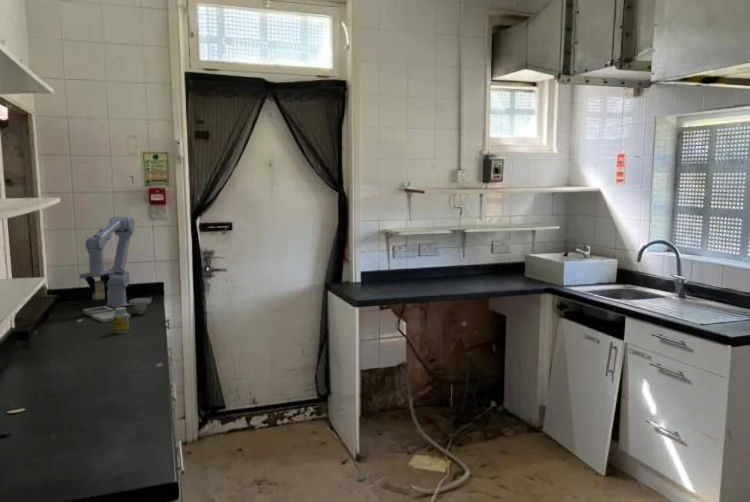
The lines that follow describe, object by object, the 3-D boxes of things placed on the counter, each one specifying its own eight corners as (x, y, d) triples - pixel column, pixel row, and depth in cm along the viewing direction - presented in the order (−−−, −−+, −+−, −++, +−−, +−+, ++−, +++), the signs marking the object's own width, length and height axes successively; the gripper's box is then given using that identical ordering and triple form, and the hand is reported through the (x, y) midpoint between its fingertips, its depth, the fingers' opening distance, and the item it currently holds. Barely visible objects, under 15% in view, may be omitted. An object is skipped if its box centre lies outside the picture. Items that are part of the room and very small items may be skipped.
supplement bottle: (111, 332, 229) (110, 309, 228) (122, 329, 234) (120, 306, 233) (121, 334, 227) (120, 310, 226) (132, 330, 232) (130, 307, 231)
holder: (83, 313, 262) (83, 309, 262) (105, 309, 269) (105, 305, 269) (92, 316, 255) (91, 312, 255) (114, 312, 263) (114, 309, 262)
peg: (92, 298, 261) (91, 281, 260) (101, 297, 264) (100, 280, 263) (96, 299, 258) (95, 282, 257) (105, 298, 261) (104, 281, 260)
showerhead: (152, 299, 259) (129, 301, 254) (153, 314, 260) (130, 316, 255) (151, 295, 267) (128, 297, 263) (152, 310, 268) (129, 312, 264)
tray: (92, 318, 253) (91, 314, 253) (118, 313, 262) (118, 310, 262) (103, 322, 245) (103, 319, 245) (130, 317, 254) (130, 314, 254)
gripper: (83, 265, 251) (85, 295, 252) (116, 262, 261) (118, 291, 263) (77, 264, 255) (79, 293, 257) (109, 260, 266) (111, 289, 268)
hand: (98, 292), depth 260 cm, fingers closed on peg, 4 cm apart
